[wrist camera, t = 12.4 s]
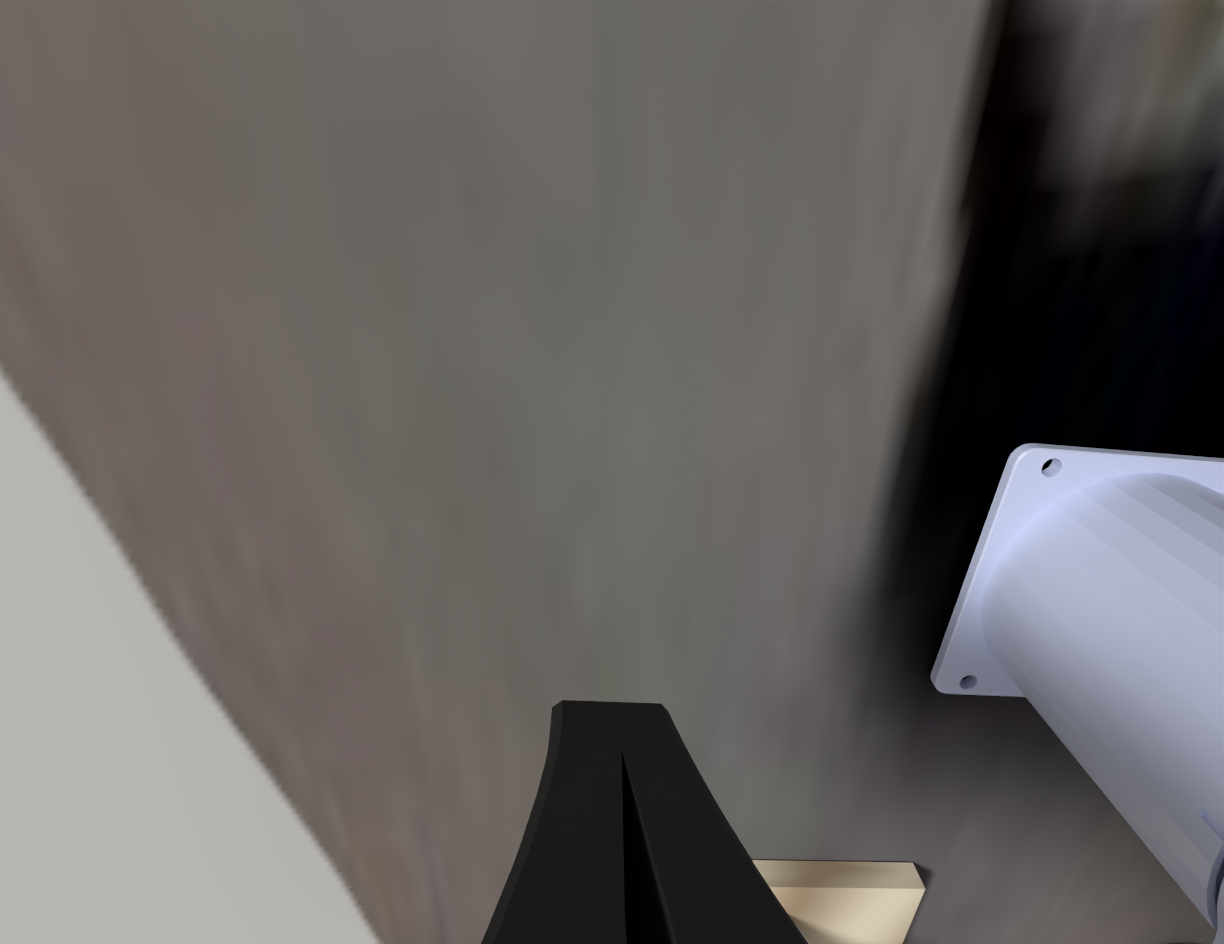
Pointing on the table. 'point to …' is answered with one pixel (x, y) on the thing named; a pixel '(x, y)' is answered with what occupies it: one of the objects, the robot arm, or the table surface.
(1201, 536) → the robot arm
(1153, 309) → the table surface
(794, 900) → the beige square base
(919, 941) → the table surface
